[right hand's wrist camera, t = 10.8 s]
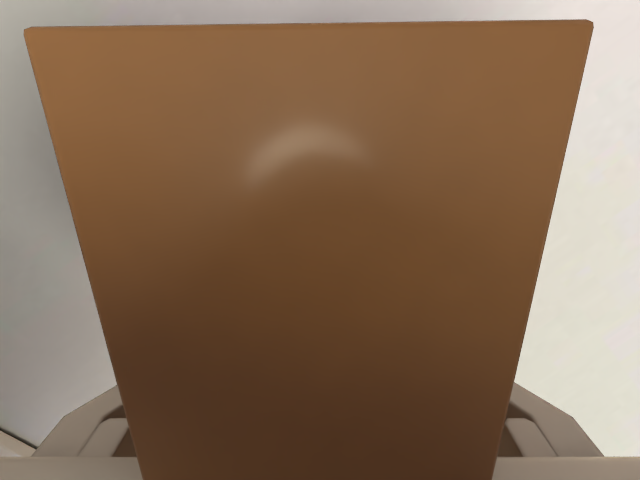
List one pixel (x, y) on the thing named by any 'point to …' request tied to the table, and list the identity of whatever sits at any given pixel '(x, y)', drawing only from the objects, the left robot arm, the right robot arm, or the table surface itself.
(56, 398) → the table surface
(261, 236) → the post
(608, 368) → the table surface
